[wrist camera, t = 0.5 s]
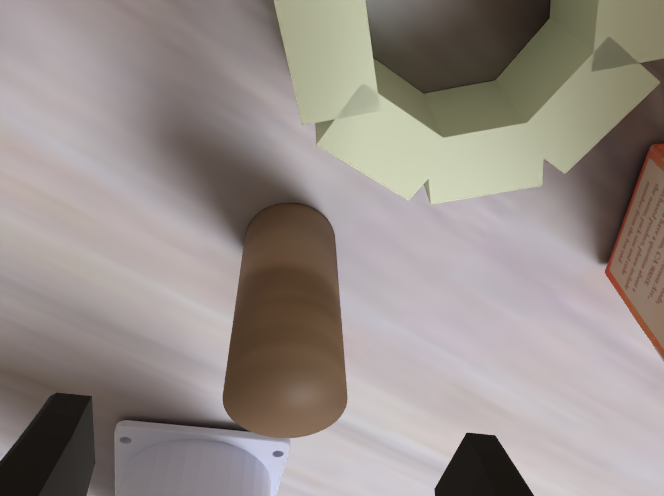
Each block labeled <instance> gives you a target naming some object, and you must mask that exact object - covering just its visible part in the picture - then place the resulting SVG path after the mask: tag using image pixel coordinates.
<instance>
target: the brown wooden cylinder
mask: <svg viewBox="0 0 664 496" xmlns="http://www.w3.org/2000/svg"><path fill="white" fill-rule="evenodd" d="M346 404H347V387H346V374H345V361H344V348H343V335H342V322H341V309H340V296H339V283H338V270H337V257H336V244H335V234H334V230H333V228H332V226H331V224H330V222H329V221H328V220H327V218H326V217H325V216H324V215H322V214H321V213H320V212H318V211H317V210H315V209H313V208H311V207H309V206H306V205H302V204H297V203H282V204H277V205H273V206H270V207H268V208H266V209H264V210H262V211H261V212H259V213H258V214H257V215H256V216H255V217H254V218H253V219H252V220H251V222H250V223H249V225H248V227H247V230H246V234H245V241H244V248H243V255H242V262H241V270H240V277H239V284H238V291H237V298H236V305H235V312H234V320H233V327H232V334H231V341H230V348H229V355H228V362H227V370H226V377H225V384H224V391H223V405H224V408H225V410H226V412H227V414H228V415H229V416H230V418H231V419H232V420H233V421H234V422H235V423H237V424H238V425H240V426H241V427H243V428H244V429H246V430H248V431H251V432H253V433H256V434H259V435H263V436H267V437H274V438H295V437H302V436H307V435H311V434H314V433H317V432H319V431H321V430H323V429H326V428H327V427H329V426H330V425H332V424H333V423H334V422H336V421H337V420H338V419H339V417H340V416H341V415H342V413H343V412H344V410H345V408H346Z"/></svg>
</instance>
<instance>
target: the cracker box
mask: <svg viewBox="0 0 664 496" xmlns="http://www.w3.org/2000/svg"><path fill="white" fill-rule="evenodd" d="M605 273H606V276H607V277H608V279H609V280H610V282H611V283H612V284H613V286H614V287H615V289H616V290H617V292H618V293H619V295H620V296H621V298H622V299H623V301H624V302H625V304H626V305H627V307H628V308H629V310H630V312H631V313H632V315H633V316H634V318H635V319H636V321H637V322H638V324H639V325H640V327H641V328H642V330H643V331H644V332H645V334H646V335H647V337H648V338H649V339H650V341H651V342H652V344H653V346H654V347H655V349H656V351H657V352H658V354H659V355H660V357H661V358H662V360H663V361H664V143H662V144H653V145H651V147H650V149H649V151H648V153H647V156H646V159H645V161H644V164H643V167H642V170H641V173H640V175H639V178H638V181H637V184H636V187H635V189H634V192H633V195H632V198H631V201H630V204H629V207H628V209H627V212H626V214H625V217H624V220H623V223H622V226H621V229H620V232H619V234H618V237H617V240H616V243H615V246H614V249H613V252H612V254H611V257H610V260H609V262H608V265H607V267H606V270H605Z"/></svg>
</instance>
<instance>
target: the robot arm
mask: <svg viewBox="0 0 664 496" xmlns="http://www.w3.org/2000/svg"><path fill="white" fill-rule="evenodd" d="M114 450H115V496H276V494H277V491H278V487H279V484H280V481H281V477H282V474H283V470H284V467H285V464H286V460H287V457H288V454H289V450H290V439H289V438H274V437H267V436H263V435H259V434H256V433H253V432H247V431H236V430H225V429H215V428H204V427H194V426H183V425H173V424H162V423H152V422H141V421H131V420H123V421H120V422H118V423H117V425H116V428H115V431H114ZM94 464H95V451H94V432H93V412H92V396H84V395H74V394H64V393H55V394H53V395H51V396H50V397H49V398H48V400H47V401H46V403H45V404H44V405H43V407H42V408H41V410H40V411H39V412H38V414H37V415H36V416H35V418H34V419H33V420H32V422H31V423H30V425H29V426H28V427H27V428H26V430H25V431H24V432H23V434H22V435H21V436H20V437H19V439H18V440H17V441H16V443H15V444H14V445H13V446H12V448H11V449H10V450H9V451H8V452H7V454H6V455H5V456H4V457H3V459H2V460H1V461H0V496H86V495H87V491H88V487H89V483H90V479H91V476H92V472H93V468H94ZM435 496H534V495H533V493H532V492H531V490H530V489H529V487H528V486H527V484H526V483H525V481H524V479H523V478H522V476H521V475H520V473H519V472H518V470H517V468H516V467H515V465H514V464H513V462H512V461H511V459H510V458H509V456H508V454H507V453H506V451H505V450H504V448H503V447H502V445H501V444H500V442H499V441H498V439H497V438H496V436H495V435H485V434H475V433H466V435H465V437H464V438H463V440H462V442H461V444H460V445H459V447H458V449H457V451H456V452H455V454H454V456H453V458H452V459H451V461H450V463H449V465H448V466H447V468H446V470H445V472H444V473H443V475H442V477H441V479H440V481H439V482H438V484H437V486H436V488H435Z"/></svg>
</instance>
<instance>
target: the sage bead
mask: <svg viewBox="0 0 664 496" xmlns="http://www.w3.org/2000/svg"><path fill="white" fill-rule="evenodd" d="M365 1H366V0H274V5H275V9H276V13H277V18H278V22H279V27H280V31H281V35H282V40H283V44H284V49H285V53H286V57H287V62H288V66H289V71H290V75H291V79H292V84H293V88H294V93H295V97H296V101H297V106H298V110H299V115H300V119H301V123H302V125H307V124H312V123H315V126H316V145H317V146H319V147H320V148H322V149H324V150H325V151H327V152H329V153H330V154H332V155H334V156H335V157H337V158H339V159H340V160H342V161H343V162H345V163H347V164H348V165H350V166H352V167H353V168H355V169H357V170H358V171H360V172H362V173H363V174H365V175H366V176H368V177H370V178H371V179H373V180H375V181H376V182H378V183H380V184H381V185H383V186H385V187H386V188H388V189H390V190H391V191H393V192H394V193H396V194H398V195H399V196H401V197H403V198H404V199H406V200H408V201H409V200H410V199H411V198H412V196H413V195H414V194H415V193H416V192H417V191H418V190H419V189H420V188H421V186H422V185H423V184H424V186H425V189H426V192H427V195H428V198H429V201H430V204H431V205H432V204H438V203H444V202H450V201H455V200H461V199H467V198H473V197H479V196H485V195H490V194H496V193H502V192H508V191H514V190H520V189H525V188H531V187H537V186H542V180H543V161H544V159H545V160H546V161H548V162H549V163H551V164H552V165H553V166H555V167H556V168H557V169H559V170H560V171H562V172H563V173H564V174H566V173H567V172H568V171H569V170H570V169H571V168H572V167H573V166H574V165H575V164H576V163H577V162H578V161H579V160H580V159H581V158H582V157H583V156H584V155H585V154H586V153H588V152H589V151H590V150H591V149H592V148H593V147H594V146H595V145H596V144H597V143H598V142H599V141H600V140H601V139H602V138H603V137H604V136H605V135H606V134H607V133H608V132H609V131H611V130H612V129H613V128H614V127H615V126H616V125H617V124H618V123H619V122H620V121H621V120H622V119H623V118H624V117H625V116H626V115H627V114H628V113H629V112H630V111H631V110H633V109H634V108H635V107H636V106H637V105H638V104H639V103H640V102H641V101H642V100H643V99H644V98H645V97H646V96H647V95H648V94H649V93H650V92H651V91H652V90H653V89H654V88H656V87H657V86H658V85H659V84H660V83H661V82H660V81H659V80H658V79H656V78H655V77H654V76H653V75H652V74H651V73H650V72H649V71H648V70H647V69H645V68H644V67H643V66H642V65H641V64H640V63H643V62H648V61H653V60H659V59H664V0H551V1H550V18H549V19H548V21H547V22H546V23H545V24H544V25H543V26H542V27H541V29H540V30H539V31H538V32H537V33H536V34H535V35H534V37H533V38H532V39H531V40H530V41H529V42H528V43H527V45H526V46H525V47H524V48H523V49H522V50H521V51H520V53H519V54H518V55H517V56H516V57H515V58H514V59H513V61H512V62H511V63H510V64H509V65H508V66H507V68H506V69H505V70H504V71H503V72H502V73H501V74H500V76H499V77H498V78H497V79H496V80H494V81H489V82H483V83H478V84H473V85H467V86H462V87H456V88H451V89H446V90H440V91H435V92H429V93H424V94H423V93H422V92H421V91H419V90H418V89H416V88H415V87H414V86H412V85H411V84H409V83H408V82H407V81H405V80H404V79H402V78H401V77H399V76H398V75H397V74H395V73H394V72H392V71H391V70H390V69H388V68H387V67H385V66H384V65H383V64H381V63H380V62H378V61H377V60H375V59H374V58H373V54H372V46H371V39H370V31H369V24H368V16H367V9H366V2H365Z"/></svg>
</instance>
